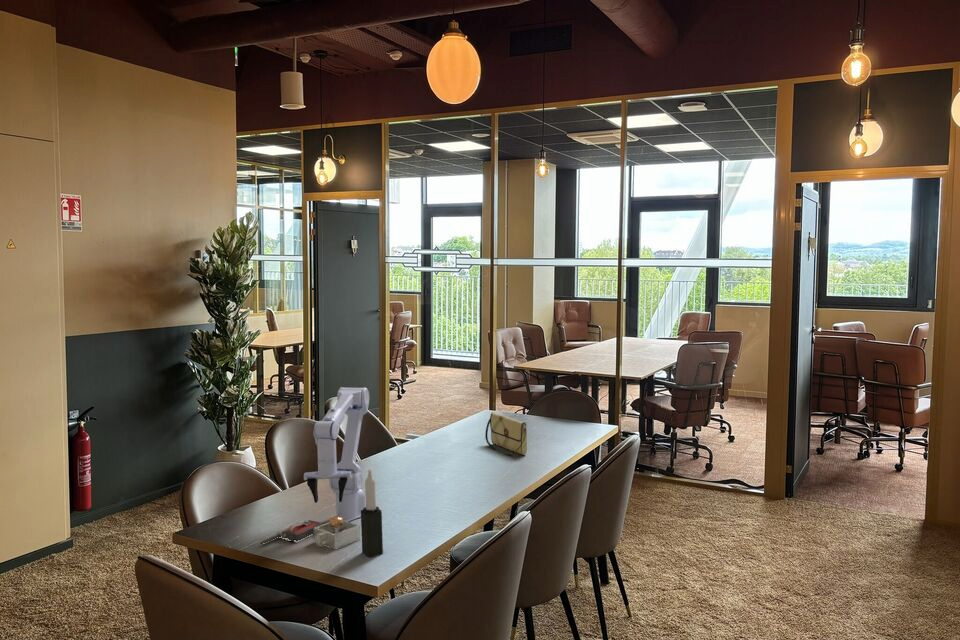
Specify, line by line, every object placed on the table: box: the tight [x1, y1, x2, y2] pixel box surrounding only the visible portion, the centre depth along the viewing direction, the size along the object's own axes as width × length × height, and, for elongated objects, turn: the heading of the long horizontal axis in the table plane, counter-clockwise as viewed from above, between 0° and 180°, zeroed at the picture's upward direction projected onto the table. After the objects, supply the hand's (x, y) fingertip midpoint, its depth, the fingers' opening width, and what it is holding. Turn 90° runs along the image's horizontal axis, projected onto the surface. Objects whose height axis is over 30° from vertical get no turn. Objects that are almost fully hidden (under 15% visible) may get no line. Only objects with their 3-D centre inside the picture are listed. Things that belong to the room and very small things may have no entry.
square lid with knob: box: [329, 515, 343, 534], centre depth 227 cm, size 8×8×7 cm
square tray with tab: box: [312, 520, 361, 550], centre depth 226 cm, size 12×10×4 cm
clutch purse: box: [485, 412, 528, 456], centre depth 331 cm, size 30×7×15 cm, turn 30°
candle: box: [360, 469, 384, 558], centre depth 216 cm, size 5×5×25 cm
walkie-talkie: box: [259, 519, 321, 545], centre depth 230 cm, size 9×4×20 cm
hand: (328, 501), depth 233 cm, fingers open, 7 cm apart
